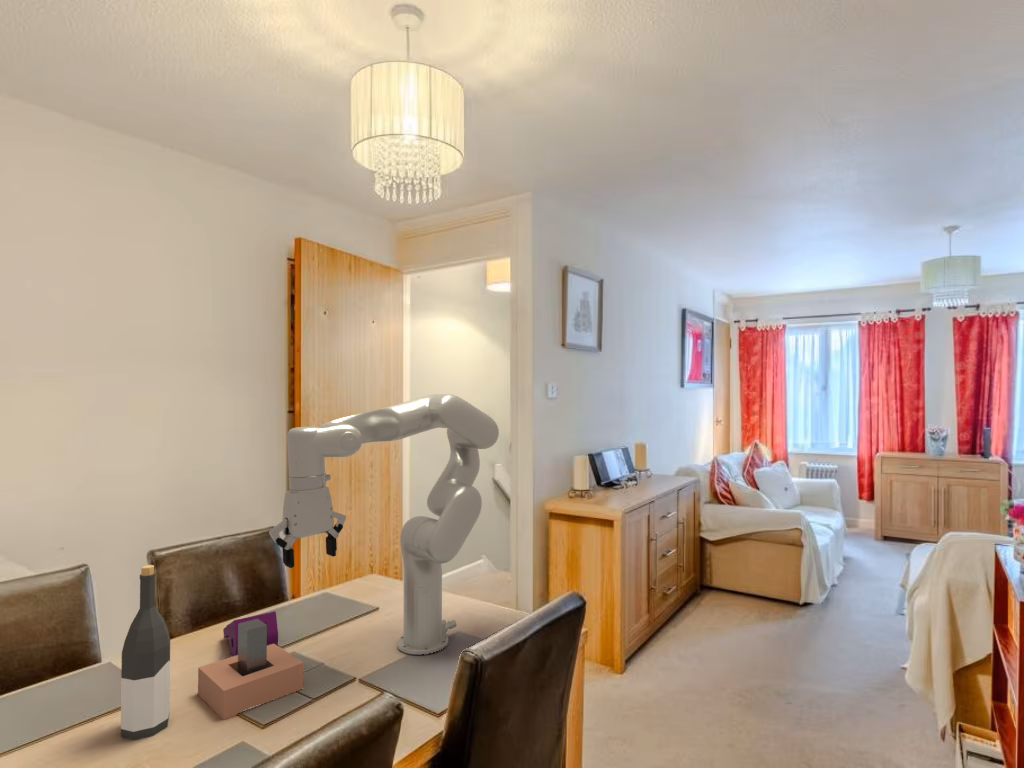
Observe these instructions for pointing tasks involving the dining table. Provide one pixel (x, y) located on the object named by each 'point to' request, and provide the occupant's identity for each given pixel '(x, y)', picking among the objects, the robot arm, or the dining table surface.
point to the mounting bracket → (266, 618)
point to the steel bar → (252, 647)
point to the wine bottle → (145, 667)
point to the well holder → (248, 682)
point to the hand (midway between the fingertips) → (310, 560)
